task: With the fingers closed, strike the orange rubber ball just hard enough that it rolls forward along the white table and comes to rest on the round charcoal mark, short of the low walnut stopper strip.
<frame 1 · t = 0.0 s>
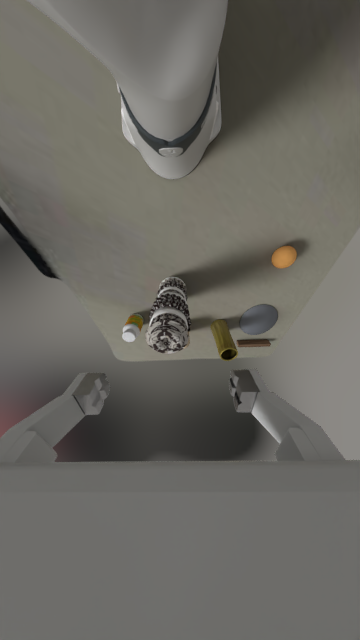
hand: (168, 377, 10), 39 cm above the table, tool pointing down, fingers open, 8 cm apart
decorative candle: (173, 289, 48), on the table
ball: (283, 257, 39), on the table
supplement bottle: (136, 319, 54), on the table
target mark: (258, 320, 54), on the table
stopper strip: (251, 341, 60), on the table
vase: (218, 325, 56), on the table
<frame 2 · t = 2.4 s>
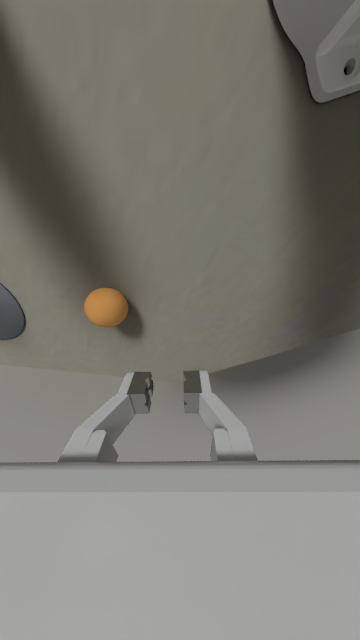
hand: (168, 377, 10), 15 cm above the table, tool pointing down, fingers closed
ball: (107, 307, 21), on the table
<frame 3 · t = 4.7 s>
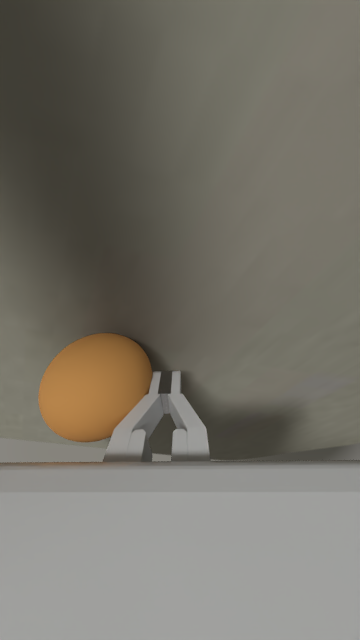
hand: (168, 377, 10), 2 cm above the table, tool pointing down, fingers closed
ball: (104, 380, 9), on the table, touching gripper
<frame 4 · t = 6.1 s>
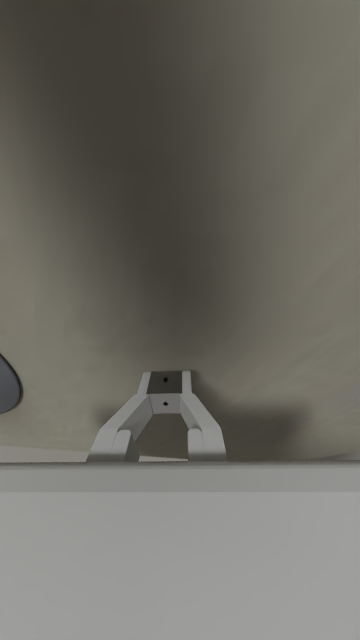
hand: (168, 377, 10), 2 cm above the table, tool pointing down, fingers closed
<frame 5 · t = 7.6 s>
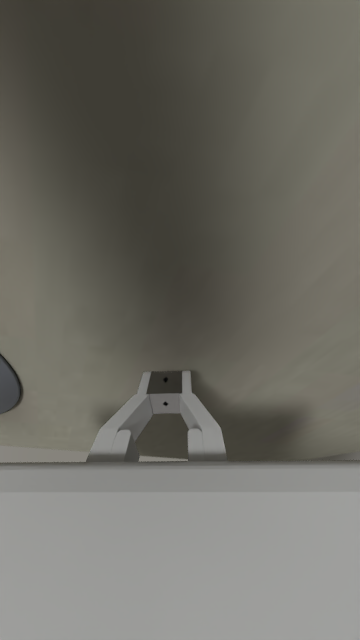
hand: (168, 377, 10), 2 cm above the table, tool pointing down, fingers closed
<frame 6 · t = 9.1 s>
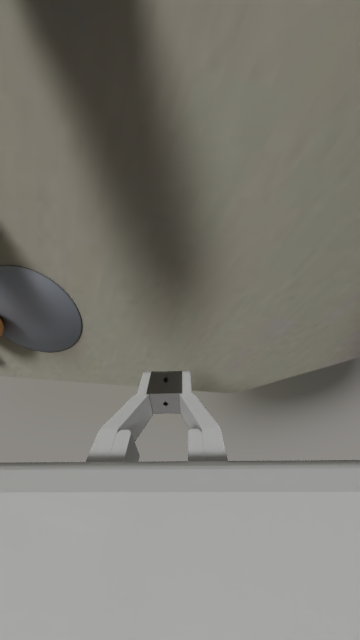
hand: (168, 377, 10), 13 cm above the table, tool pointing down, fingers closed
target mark: (32, 314, 21), on the table
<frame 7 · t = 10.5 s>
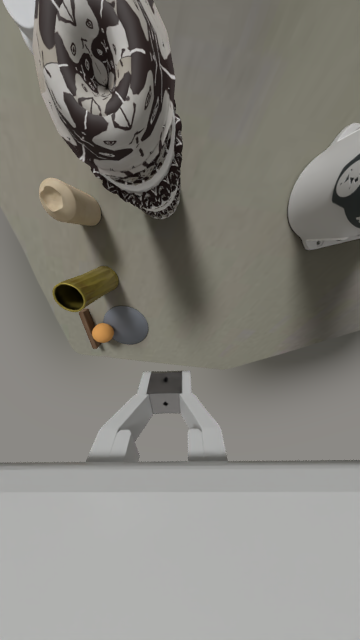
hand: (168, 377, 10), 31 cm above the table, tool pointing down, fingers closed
decorative candle: (158, 194, 30), on the table
ball: (103, 332, 42), on the table
supplement bottle: (79, 84, 23), on the table
candle: (88, 210, 31), on the table
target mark: (126, 326, 44), on the table
stopper strip: (92, 327, 44), on the table
vase: (106, 278, 38), on the table
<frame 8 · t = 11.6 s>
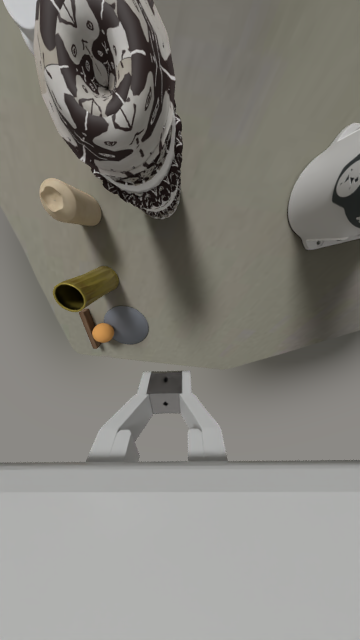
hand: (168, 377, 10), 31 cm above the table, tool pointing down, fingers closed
decorative candle: (159, 194, 30), on the table
ball: (103, 332, 42), on the table
supplement bottle: (80, 84, 24), on the table
candle: (88, 210, 31), on the table
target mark: (126, 326, 44), on the table
stopper strip: (93, 327, 44), on the table
vase: (107, 278, 38), on the table
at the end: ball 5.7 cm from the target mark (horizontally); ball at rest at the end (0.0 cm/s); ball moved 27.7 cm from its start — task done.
